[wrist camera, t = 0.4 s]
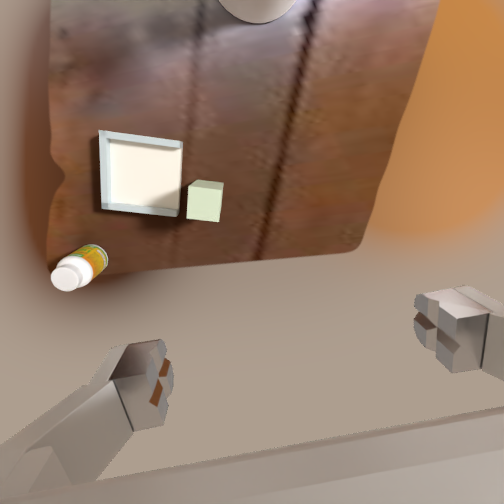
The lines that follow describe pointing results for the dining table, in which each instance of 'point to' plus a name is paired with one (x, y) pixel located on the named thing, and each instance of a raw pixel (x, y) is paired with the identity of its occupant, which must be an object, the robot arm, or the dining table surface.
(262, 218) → the dining table surface
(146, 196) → the holder
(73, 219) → the dining table surface
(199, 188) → the green block
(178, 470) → the robot arm
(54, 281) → the supplement bottle
